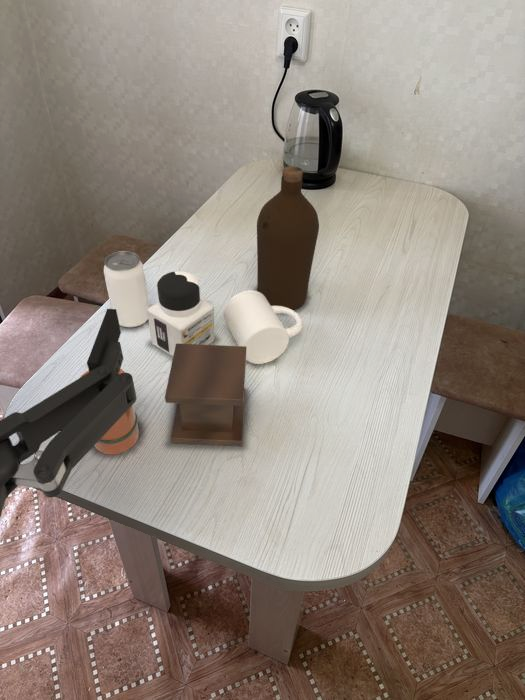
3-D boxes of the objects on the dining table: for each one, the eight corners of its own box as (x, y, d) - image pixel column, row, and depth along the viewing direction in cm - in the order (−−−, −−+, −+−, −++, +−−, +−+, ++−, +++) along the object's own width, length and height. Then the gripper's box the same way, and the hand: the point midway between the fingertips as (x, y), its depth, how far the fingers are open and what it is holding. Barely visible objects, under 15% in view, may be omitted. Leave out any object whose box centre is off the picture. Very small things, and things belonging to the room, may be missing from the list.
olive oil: (298, 320, 92) (314, 190, 74) (245, 304, 94) (248, 176, 77) (316, 288, 99) (334, 164, 82) (266, 275, 101) (273, 151, 84)
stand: (171, 443, 71) (164, 396, 64) (180, 390, 78) (175, 343, 71) (242, 446, 71) (243, 400, 64) (245, 393, 78) (246, 346, 71)
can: (118, 304, 93) (107, 248, 84) (153, 306, 93) (146, 250, 84) (109, 327, 88) (96, 270, 80) (146, 329, 88) (137, 272, 80)
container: (184, 364, 82) (178, 301, 73) (151, 344, 85) (141, 281, 76) (215, 340, 87) (213, 278, 78) (182, 321, 90) (177, 259, 81)
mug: (242, 369, 82) (243, 332, 77) (223, 330, 89) (222, 294, 83) (309, 353, 86) (314, 316, 80) (286, 317, 92) (289, 281, 87)
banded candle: (85, 454, 69) (61, 384, 59) (98, 416, 74) (78, 345, 64) (134, 456, 69) (119, 387, 59) (144, 418, 74) (131, 348, 64)
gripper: (-273, 578, 31) (-91, 342, 46) (136, 593, 31) (182, 354, 47) (-375, 518, 26) (-131, 275, 41) (118, 536, 26) (176, 289, 41)
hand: (35, 317), depth 44 cm, fingers open, 13 cm apart
